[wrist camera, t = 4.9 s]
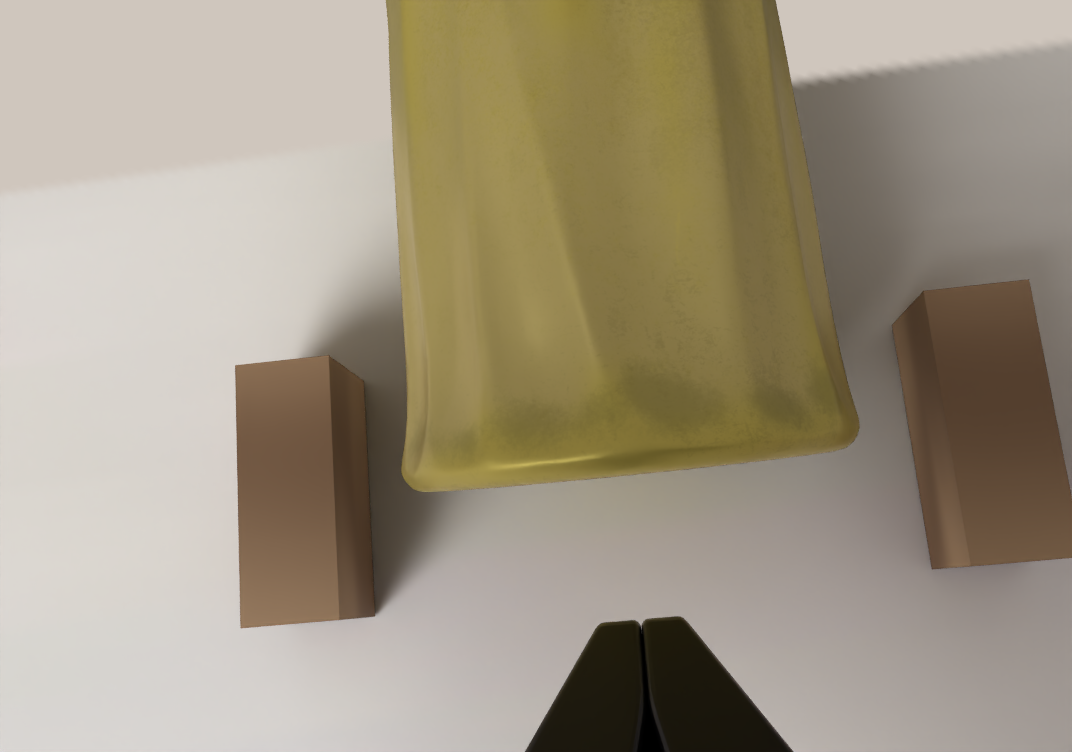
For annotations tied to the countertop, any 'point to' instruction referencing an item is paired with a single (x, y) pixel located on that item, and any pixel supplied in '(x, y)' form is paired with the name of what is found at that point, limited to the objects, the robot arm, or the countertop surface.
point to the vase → (605, 243)
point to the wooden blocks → (932, 412)
